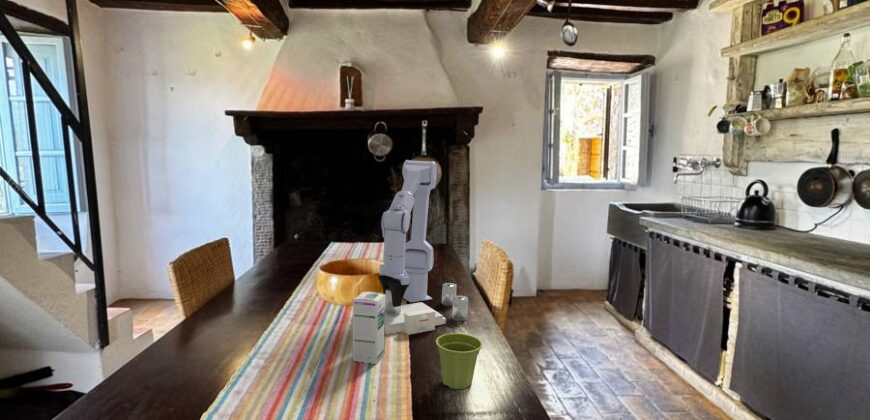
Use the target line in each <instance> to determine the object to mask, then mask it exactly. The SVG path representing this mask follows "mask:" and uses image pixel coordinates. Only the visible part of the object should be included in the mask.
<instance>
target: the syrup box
mask: <svg viewBox="0 0 870 420" xmlns="http://www.w3.org/2000/svg"><path fill="white" fill-rule="evenodd" d="M385 298H386V297H385V294H383V292H377V291H362V292H361V293H359V295H357V296H355V298H353V299H352V361H353V362H356V361H358V362H357V363H361V362H366V363H365V364H368V363H371V364H370V365H377V364H378V362H379V361H380V360H381V359H382V357H383V356H384V355H385V354H386V353H385V348H386V347H385V346H386V345H385V343H386V340H385V339H386V334H385Z"/></svg>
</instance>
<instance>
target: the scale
mask: <svg viewBox="0 0 870 420" xmlns="http://www.w3.org/2000/svg"><path fill="white" fill-rule="evenodd" d="M446 320H447V318H446V317H444V315H442V314H441V313H440V312H438V311H436V310H435V309H433V308H432V307H430V306H428V305H427V304H425V303H424V302H422V301H419V302H412V303H409V304H401V313H399V314H388V313H386V312H385V333H386V334H387V335H390V334H389V333H393V334H395V333H394V332H398V333H401V332H400V331H403V332H404V333H405V334H406V333H407V334H406V335H408V336H410V335H414V334H419V333H420V334H421V333H423V332H429V331H435V330H436V327H435V326H441V325H446V324H447V323H446ZM386 334H385V335H386Z"/></svg>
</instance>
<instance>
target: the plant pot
mask: <svg viewBox="0 0 870 420" xmlns="http://www.w3.org/2000/svg"><path fill="white" fill-rule="evenodd" d="M435 345H436V346H437V349H438V352H439V361H440V370H441V372H440V373H441V381H442V384H443V385H445V386H447V387H449V388H450V389H454V390H463V389H467V388H468V387H469V386H471V385H472V383H473V379H474V373H475V369H476V364H477V358H478V355H479V353H480V350H481V349H482V348H483V342H482V340H481V339H479V338H478V337H476V336H474V335H471V334H466V333H459V332H458V333H453V332H451V333H445V334H441V335H440V336H438V337H437V338H436V340H435Z"/></svg>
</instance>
